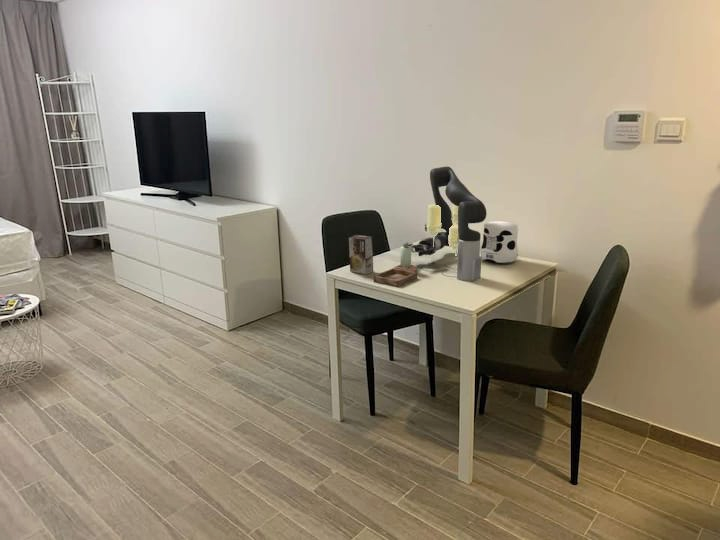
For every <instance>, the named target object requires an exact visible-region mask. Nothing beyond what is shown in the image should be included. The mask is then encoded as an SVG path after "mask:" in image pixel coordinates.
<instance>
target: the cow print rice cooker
mask: <svg viewBox="0 0 720 540" xmlns="http://www.w3.org/2000/svg"><path fill="white" fill-rule="evenodd" d="M518 226H519V225H518V224H517V223H516V222H515V223H514V222H511V221H500V220H499V221H488V222H485V223H484V224H483V233H482V236H483V237H482V244H481V246H480V256H481V260H483V261H484V262H486V263H489V264H494V265H507V264H512V263H515V262H516V261H517V260H518V256H519V249H518V248H519V247H518V231H519V227H518Z"/></svg>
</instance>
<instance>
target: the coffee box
mask: <svg viewBox="0 0 720 540" xmlns="http://www.w3.org/2000/svg"><path fill="white" fill-rule="evenodd" d="M373 238H374V237H373V236H369V235H363V234H362V235H361V234H354V235H352V236H350V237H348V247H349V248H348V250H349V251H348V252H349V272H350V271H351V273H356V274H363V275H367V274H369V273H372V272H374V251H373V250H374V245H373V244H374V243H373V240H374V239H373Z"/></svg>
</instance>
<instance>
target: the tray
mask: <svg viewBox="0 0 720 540" xmlns="http://www.w3.org/2000/svg"><path fill="white" fill-rule="evenodd" d="M416 279H418V272H417V271H414V272H411V271H405V270H400V269H395V268H394V267H393V268H390V269H388V270H385V271H383V272H380V273H377V274H375V275H373V282H374V283H377V282H378V284H382V285H387V286H392V287H397V288H399V287H402V286H404V285H405V284H408V283H410V282H412V281H414V280H416Z"/></svg>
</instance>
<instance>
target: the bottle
mask: <svg viewBox="0 0 720 540" xmlns="http://www.w3.org/2000/svg"><path fill="white" fill-rule="evenodd" d="M408 244H409V242H407V241H406V242H403V243H402V246H400V247H399V248H400V249H399V251H400V256H399V257H400V258H399V259H400V262H399V265H400V268H405V269H409V268H411V265H412V252H411V247H410V246H408Z"/></svg>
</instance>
